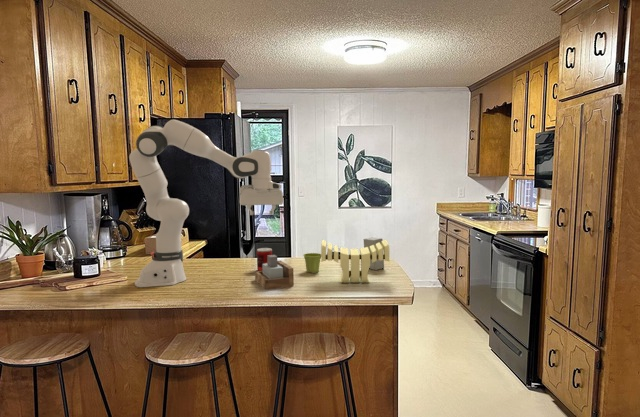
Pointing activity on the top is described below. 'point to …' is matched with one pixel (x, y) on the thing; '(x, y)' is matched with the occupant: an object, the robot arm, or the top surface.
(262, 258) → the canned food
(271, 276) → the cabinet block
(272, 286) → the brown wooden frame
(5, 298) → the top surface
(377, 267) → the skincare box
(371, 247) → the slatted curved stool
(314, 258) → the plant pot
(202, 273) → the top surface
